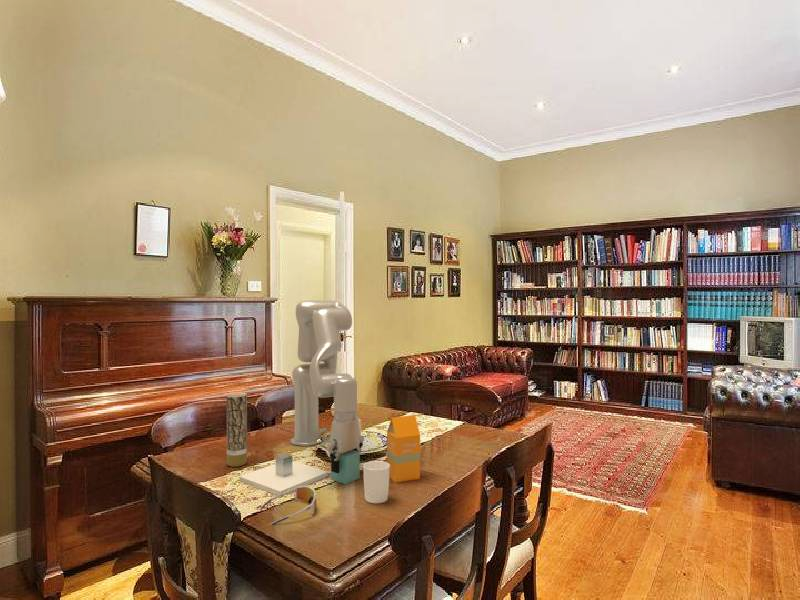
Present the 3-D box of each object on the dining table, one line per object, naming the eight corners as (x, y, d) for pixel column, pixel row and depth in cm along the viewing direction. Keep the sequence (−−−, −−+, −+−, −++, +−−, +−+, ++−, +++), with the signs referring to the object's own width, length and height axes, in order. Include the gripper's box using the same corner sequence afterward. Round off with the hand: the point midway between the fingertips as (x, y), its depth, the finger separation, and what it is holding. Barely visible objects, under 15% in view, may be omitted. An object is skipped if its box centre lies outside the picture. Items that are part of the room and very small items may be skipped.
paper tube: (240, 468, 170) (240, 396, 169) (222, 466, 171) (222, 395, 171) (250, 461, 176) (250, 392, 176) (233, 460, 178) (233, 391, 178)
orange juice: (386, 474, 165) (386, 415, 164) (410, 470, 168) (410, 412, 168) (395, 482, 157) (395, 420, 157) (420, 478, 161) (420, 417, 161)
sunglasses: (326, 514, 135) (323, 496, 135) (273, 536, 127) (270, 518, 127) (306, 496, 147) (304, 480, 147) (256, 515, 139) (254, 498, 139)
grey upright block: (284, 471, 163) (284, 453, 163) (292, 473, 161) (292, 455, 161) (275, 474, 160) (275, 456, 160) (283, 477, 158) (283, 458, 158)
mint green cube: (344, 473, 165) (344, 448, 165) (359, 478, 161) (359, 451, 161) (330, 479, 160) (330, 453, 160) (345, 484, 156) (345, 457, 156)
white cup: (379, 506, 140) (380, 471, 139) (357, 500, 144) (357, 466, 144) (394, 497, 146) (394, 463, 146) (373, 491, 150) (373, 459, 150)
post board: (287, 463, 174) (287, 459, 174) (327, 476, 162) (327, 471, 162) (239, 480, 158) (239, 476, 158) (280, 496, 146) (280, 491, 146)
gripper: (354, 409, 169) (354, 458, 169) (318, 419, 155) (318, 473, 155) (371, 412, 165) (371, 463, 165) (335, 422, 151) (335, 478, 151)
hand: (345, 468), depth 160 cm, fingers open, 9 cm apart
